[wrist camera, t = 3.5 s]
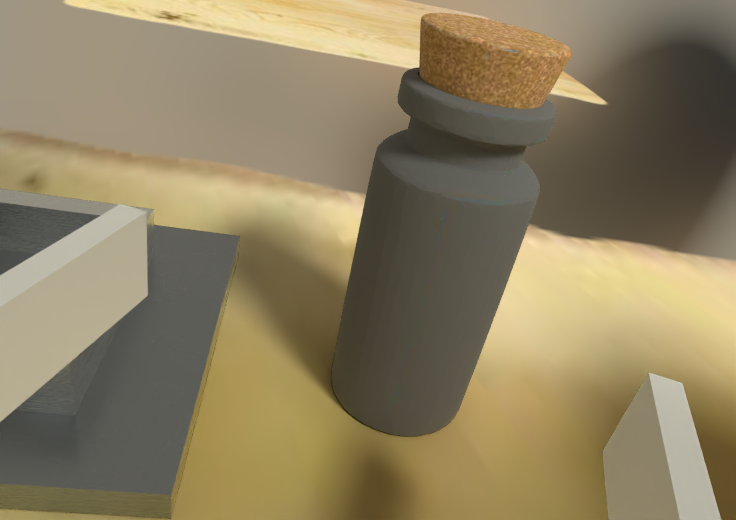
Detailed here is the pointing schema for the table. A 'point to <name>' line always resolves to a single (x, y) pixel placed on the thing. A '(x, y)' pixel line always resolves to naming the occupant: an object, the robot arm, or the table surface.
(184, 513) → the table surface
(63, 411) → the collar plate
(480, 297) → the bottle
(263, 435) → the table surface
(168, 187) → the table surface
